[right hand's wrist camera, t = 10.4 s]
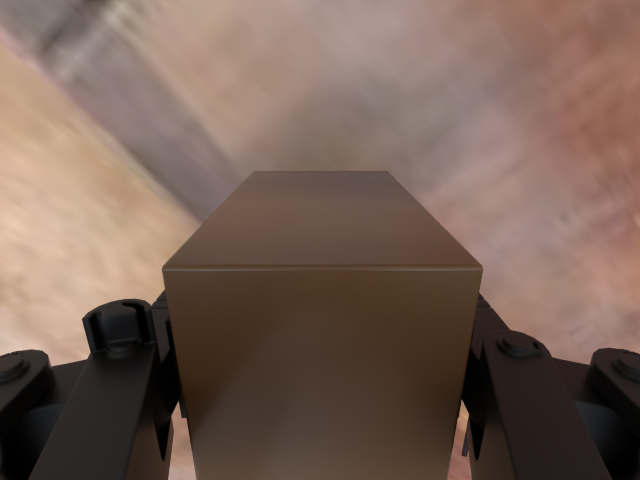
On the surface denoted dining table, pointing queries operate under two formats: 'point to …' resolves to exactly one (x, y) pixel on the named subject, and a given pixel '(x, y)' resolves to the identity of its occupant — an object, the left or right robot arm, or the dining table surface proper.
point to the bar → (322, 331)
